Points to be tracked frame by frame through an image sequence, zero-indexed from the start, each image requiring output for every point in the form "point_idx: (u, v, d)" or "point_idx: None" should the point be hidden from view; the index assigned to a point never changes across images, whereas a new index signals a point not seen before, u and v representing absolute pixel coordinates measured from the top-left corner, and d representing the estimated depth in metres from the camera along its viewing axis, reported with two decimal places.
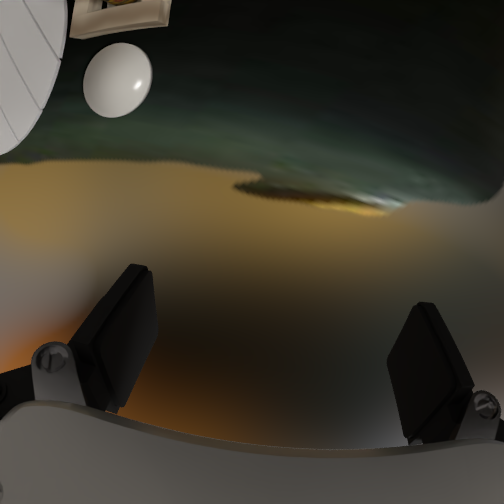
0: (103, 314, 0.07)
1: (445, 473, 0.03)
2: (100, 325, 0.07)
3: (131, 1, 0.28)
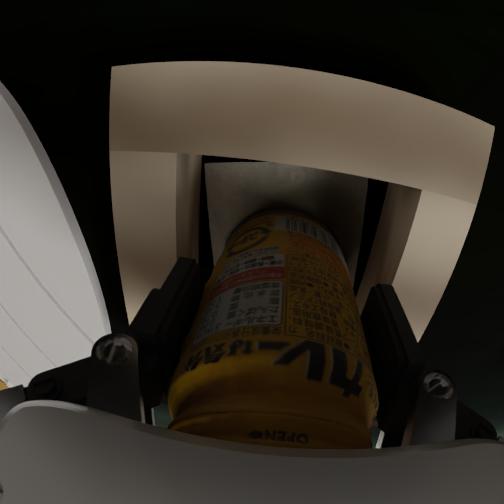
0: (164, 304, 0.08)
1: (445, 473, 0.03)
2: (164, 315, 0.08)
3: None
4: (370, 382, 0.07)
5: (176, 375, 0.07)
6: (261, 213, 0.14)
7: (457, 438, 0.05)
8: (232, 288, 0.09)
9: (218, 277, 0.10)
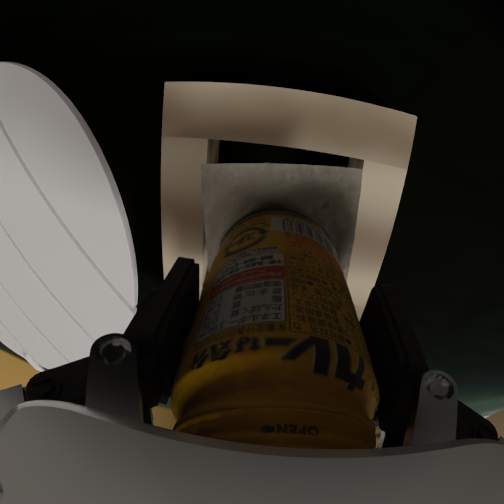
0: (162, 304, 0.08)
1: (445, 473, 0.03)
2: (162, 315, 0.08)
3: None
4: (372, 376, 0.07)
5: (181, 374, 0.07)
6: (256, 213, 0.14)
7: (458, 438, 0.05)
8: (233, 287, 0.09)
9: (217, 277, 0.10)
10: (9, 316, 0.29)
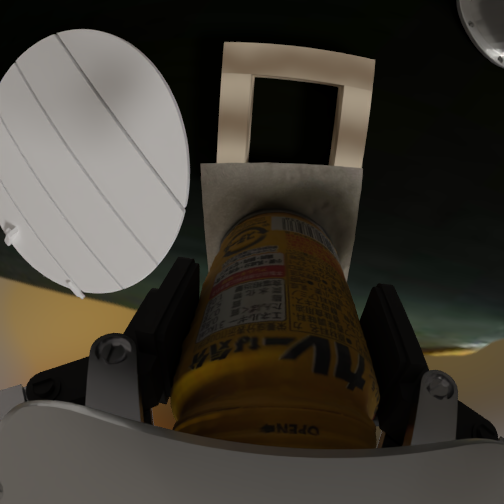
0: (162, 304, 0.08)
1: (445, 473, 0.03)
2: (162, 315, 0.08)
3: None
4: (372, 376, 0.07)
5: (180, 373, 0.07)
6: (256, 213, 0.14)
7: (458, 438, 0.05)
8: (233, 286, 0.09)
9: (217, 276, 0.10)
10: (60, 241, 0.39)
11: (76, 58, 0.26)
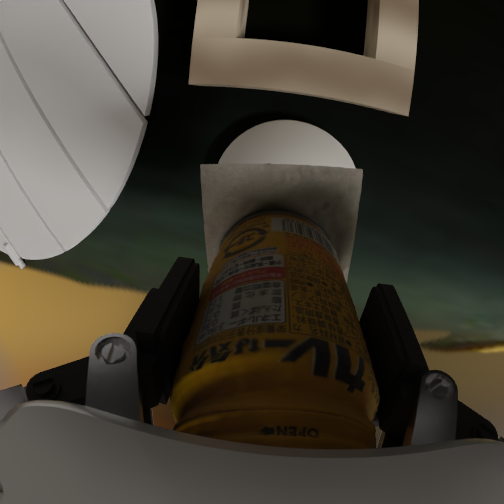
0: (162, 304, 0.08)
1: (445, 473, 0.03)
2: (162, 315, 0.08)
3: None
4: (372, 378, 0.07)
5: (180, 375, 0.07)
6: (255, 214, 0.14)
7: (458, 438, 0.05)
8: (233, 288, 0.09)
9: (217, 277, 0.10)
10: None
11: None
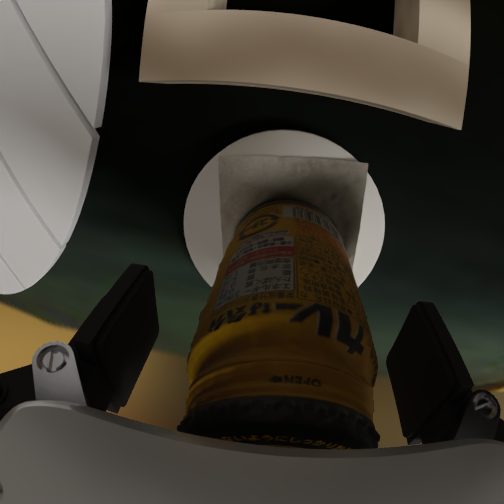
0: (104, 314, 0.07)
1: (445, 473, 0.03)
2: (101, 325, 0.07)
3: None
4: (370, 345, 0.08)
5: (198, 338, 0.08)
6: (268, 203, 0.15)
7: None
8: (248, 263, 0.10)
9: (232, 256, 0.12)
10: None
11: None
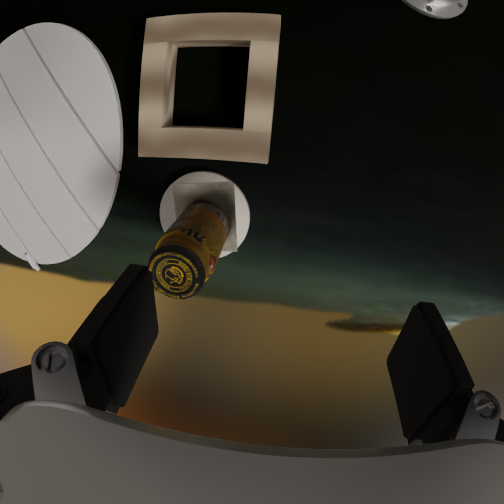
0: (103, 314, 0.07)
1: (445, 473, 0.03)
2: (100, 326, 0.07)
3: None
4: (207, 242, 0.27)
5: None
6: (194, 203, 0.35)
7: None
8: (175, 222, 0.30)
9: (173, 222, 0.31)
10: (19, 214, 0.38)
11: (37, 47, 0.26)
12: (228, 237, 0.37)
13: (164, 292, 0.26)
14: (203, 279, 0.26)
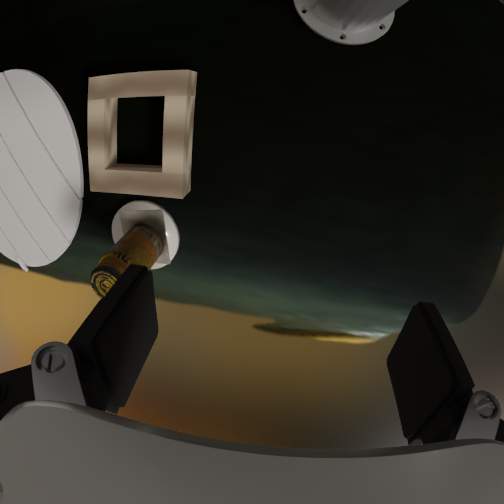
0: (103, 314, 0.07)
1: (445, 473, 0.03)
2: (100, 325, 0.07)
3: None
4: (131, 262, 0.35)
5: None
6: (135, 226, 0.42)
7: None
8: (114, 244, 0.37)
9: None
10: (10, 226, 0.46)
11: (15, 91, 0.33)
12: (162, 253, 0.44)
13: None
14: None
